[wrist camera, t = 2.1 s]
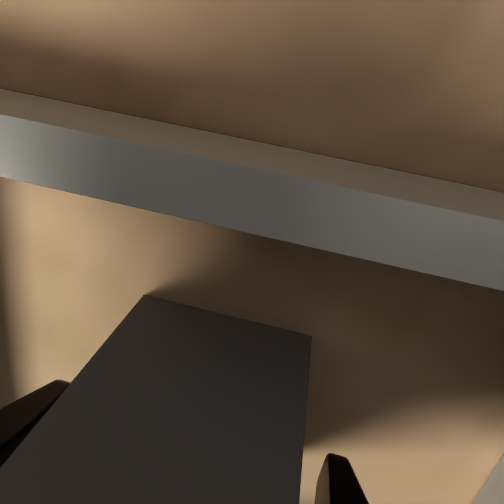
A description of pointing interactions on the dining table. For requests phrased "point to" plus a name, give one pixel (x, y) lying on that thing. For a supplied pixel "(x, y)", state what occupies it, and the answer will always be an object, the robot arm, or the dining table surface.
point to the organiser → (260, 193)
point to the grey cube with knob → (173, 417)
